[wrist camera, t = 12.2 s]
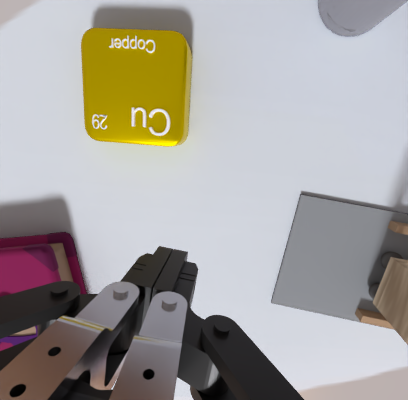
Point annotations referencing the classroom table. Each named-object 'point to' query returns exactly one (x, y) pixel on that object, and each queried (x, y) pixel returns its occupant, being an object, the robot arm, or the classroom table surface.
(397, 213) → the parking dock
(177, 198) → the classroom table surface
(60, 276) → the book
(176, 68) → the element tile
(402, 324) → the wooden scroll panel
